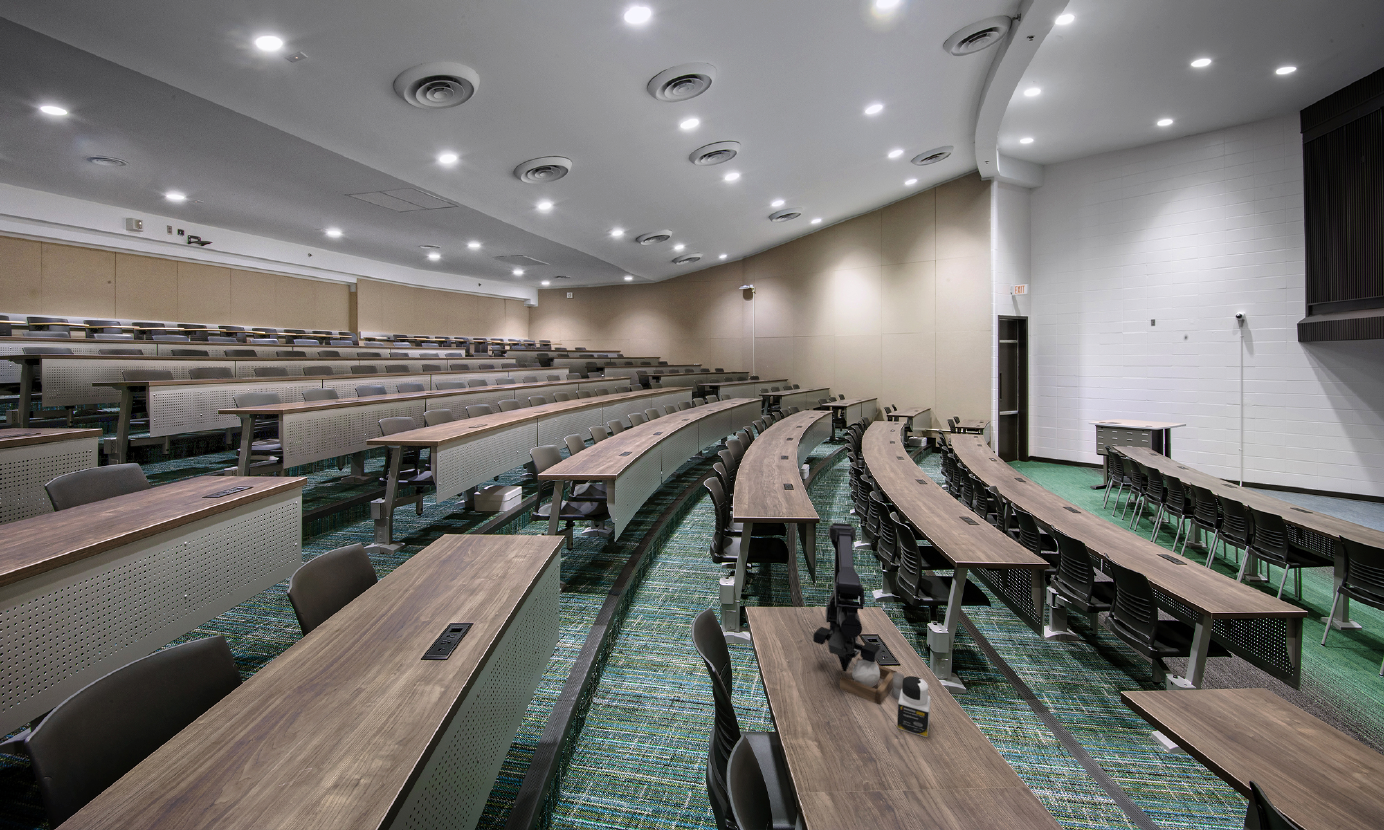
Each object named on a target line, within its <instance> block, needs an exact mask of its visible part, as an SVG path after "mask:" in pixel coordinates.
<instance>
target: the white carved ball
mask: <svg viewBox="0 0 1384 830" xmlns="http://www.w3.org/2000/svg"><path fill="white" fill-rule="evenodd" d="M860 659H861V660H857V659H856V663H855V664H854V665H853V667H852V673H851V676H852V678H853V680H854V681H856V682H859V683H861V684H864V685H867V686H869V687H872V688H874V686H876V685H878V682H879V680H880V679H881V678H880V670H879V667H878V665H879V664H878V663H877V662H876V661H875V662H869V661H867V660H864V659H862V658H860Z"/></svg>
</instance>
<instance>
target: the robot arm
mask: <svg viewBox="0 0 1384 830" xmlns="http://www.w3.org/2000/svg"><path fill="white" fill-rule="evenodd" d="M827 530H828V533H827V534H828V537H829V538H828V539H830V543H831V545H832V546H833V548H834V562H833V564H834V566H833V591H832V593H831V594H830V596H829V597H828V604H826V605H825V622H826V623H829V628H826V627H824V626H820V627H819V628H818V629H817V630H816V631H814V633H813V635H812V636H813V637H812V641H813V642H814V643H815V644H818V645H822V646H823V645H824V644H825V643H826V641H828V642H827V645H828V651H829V653H830V654H833V655H837V657H838V659H839V663H840V666H841V670H842V671H843V672H844V673H846V672H847V671H848V669H849V668H850V664H851V663H852V660H853V659H855V658H856V657H857V656H858V655H859V654H860V657H861V659H864V660H867V661H869V662H876V661H877V660H878V658H879V657H880V656H881V652H882V651H881V650H882V649H881V647H880V646H879V645H878V644H875V643H872V642H869V641H866V642H865V643H864V645H863V644H861V643H860V642H858V640H859V636H860V635H861V634H862V631H863V626H862V622H861V619H860V615H859V610H864V605H866V598H865V588H864V587H863V584H862V583H861V582H860V576H859V574H858V573H857V571H855V564H854V554H853V553H854V551H853V543H854V542H856V540H857V533H856V532H857V529H856V527H854V526H852V524H851V523H845V522H844V523H842V522H841V523H840V522H839V523H838V522H832V524H830V525H828V529H827ZM858 600H859V601H858Z"/></svg>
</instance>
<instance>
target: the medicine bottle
mask: <svg viewBox="0 0 1384 830" xmlns="http://www.w3.org/2000/svg"><path fill="white" fill-rule="evenodd" d="M931 701H932V699H931V695H929V684H928V683H927V682H926V680H924V679H923V678H922V677H917V676H915V675H913V676H912V675H909V676H904V679H903V685H902V689H901V693H900V697H899V699H898V703H897V718H896V719H897V722H896V727H897V729H898V730H901V731H903V732H904V731H905V732H907V733H910V734H914V735H916V736H917V735H918V736H921V737H923V738H928V736H929V728H930V721H931V720H930V716H931Z"/></svg>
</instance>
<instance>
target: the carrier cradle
mask: <svg viewBox="0 0 1384 830" xmlns="http://www.w3.org/2000/svg"><path fill="white" fill-rule="evenodd" d="M861 659H862V658H860V657H858V658H857V659H856V661H857V660H861ZM877 665H878V667H879V670H880V678H879V679H882V681H881V684H879V686H878V688H875V687H869V686H867V685H864V684H861V683H859V682H856V681H854V679H851V678H848V677H845V676H843V675H842V676H841V677H840V679H839V689H840V690H842V691H846V693H847V692H848V693H850V694H852V695H855V696H858V697H860V698H862V699H865V700H868V701H871V702H872V703H875V704H878V705H882V703H883V701H884V700H885V698H886V697H887V695H889V693H890V692H891V696H892V698H894V699H897V700H899V697H900V693H901V689H902V685H903V679H904V678H905V675H904V674H903V673H901V672H897V670H894V669H891V668H888V667H885V666H882V665H880V664H877Z"/></svg>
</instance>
